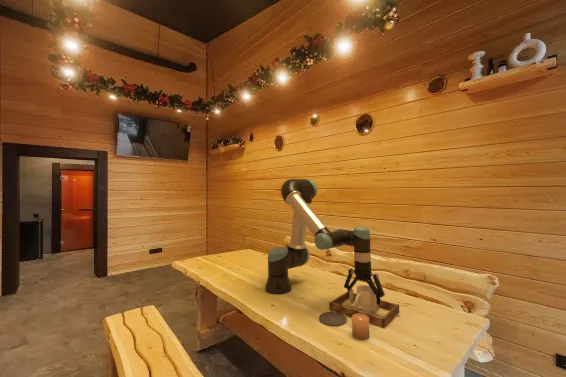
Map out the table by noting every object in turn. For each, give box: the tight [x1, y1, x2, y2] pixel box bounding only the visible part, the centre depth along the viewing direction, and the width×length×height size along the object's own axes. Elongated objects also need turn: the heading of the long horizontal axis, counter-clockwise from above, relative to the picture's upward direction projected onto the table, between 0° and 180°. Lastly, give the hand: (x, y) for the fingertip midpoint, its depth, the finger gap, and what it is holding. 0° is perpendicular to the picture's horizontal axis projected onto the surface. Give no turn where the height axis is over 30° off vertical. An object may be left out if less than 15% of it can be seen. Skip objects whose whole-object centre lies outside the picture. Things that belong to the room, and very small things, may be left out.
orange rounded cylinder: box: [351, 313, 370, 341], centre depth 102 cm, size 6×6×7 cm
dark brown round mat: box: [318, 311, 348, 327], centre depth 115 cm, size 12×12×1 cm
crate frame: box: [329, 291, 400, 329], centre depth 122 cm, size 26×18×4 cm
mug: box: [354, 284, 376, 314], centre depth 122 cm, size 12×8×10 cm
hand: (363, 307), depth 122 cm, fingers open, 12 cm apart
